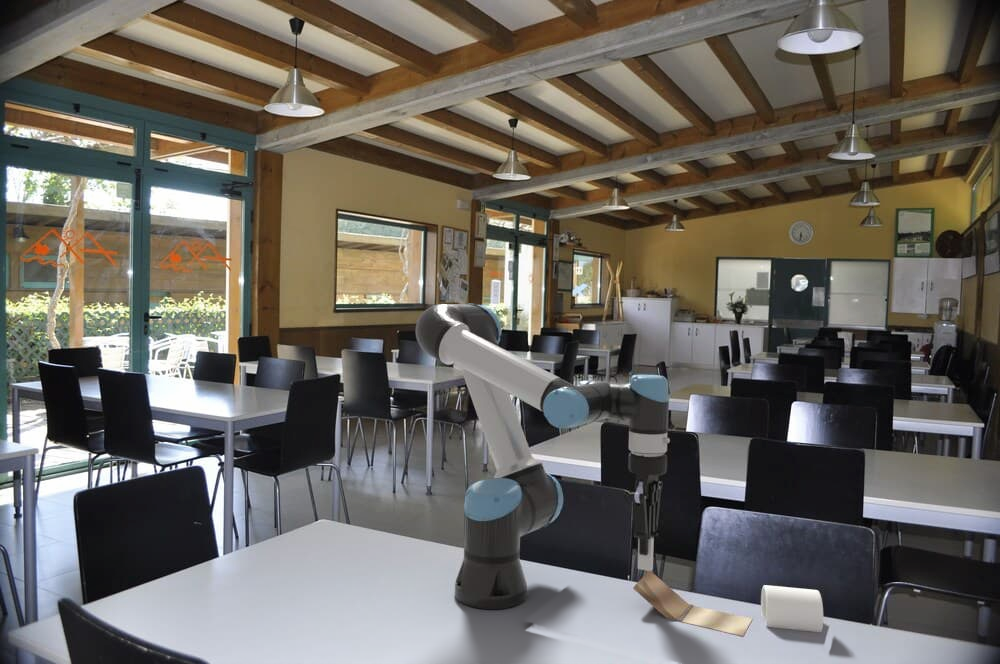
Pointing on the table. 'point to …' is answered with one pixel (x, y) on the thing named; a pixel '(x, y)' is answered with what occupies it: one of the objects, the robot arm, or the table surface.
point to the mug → (792, 608)
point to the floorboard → (715, 620)
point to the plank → (661, 596)
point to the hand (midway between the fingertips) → (645, 568)
